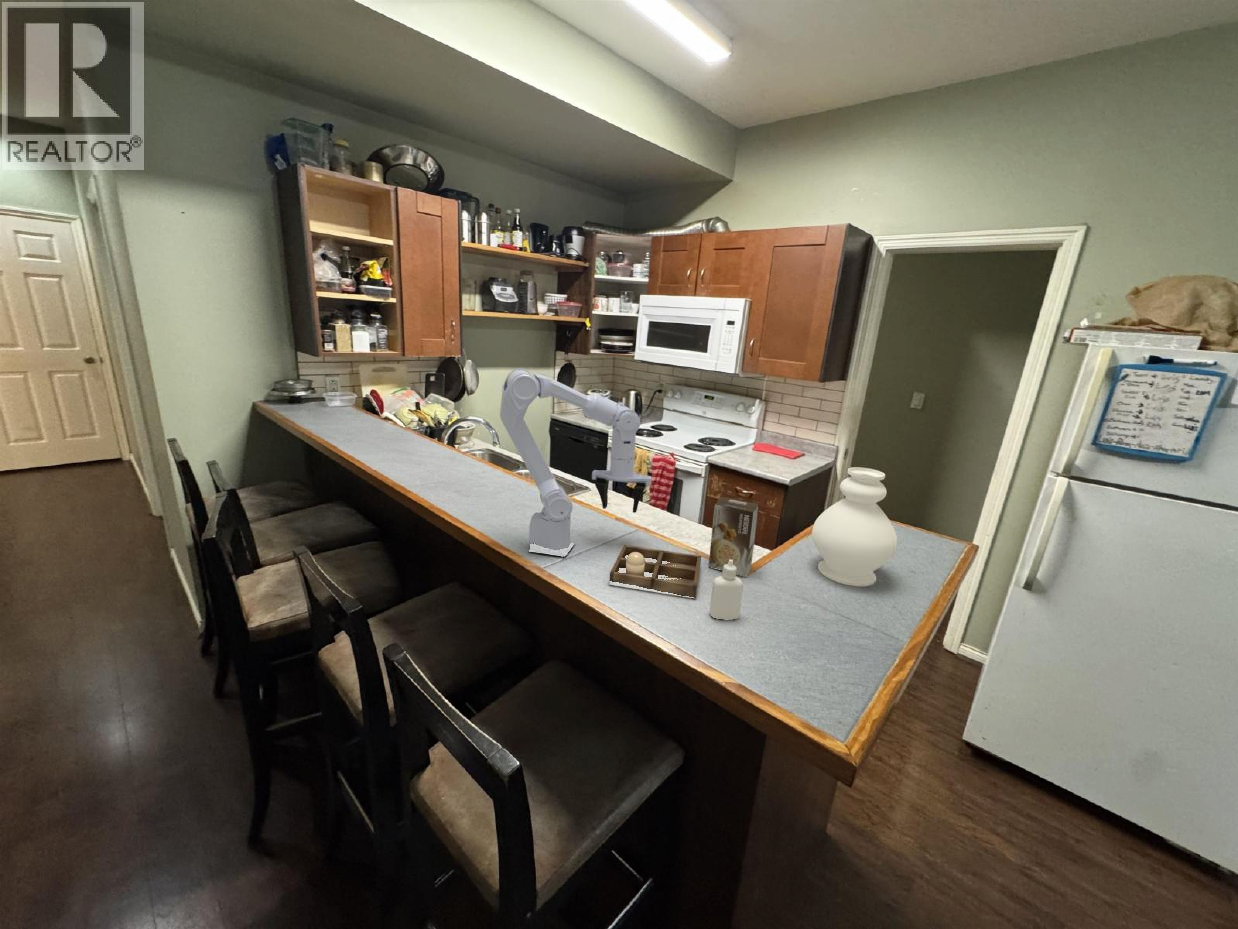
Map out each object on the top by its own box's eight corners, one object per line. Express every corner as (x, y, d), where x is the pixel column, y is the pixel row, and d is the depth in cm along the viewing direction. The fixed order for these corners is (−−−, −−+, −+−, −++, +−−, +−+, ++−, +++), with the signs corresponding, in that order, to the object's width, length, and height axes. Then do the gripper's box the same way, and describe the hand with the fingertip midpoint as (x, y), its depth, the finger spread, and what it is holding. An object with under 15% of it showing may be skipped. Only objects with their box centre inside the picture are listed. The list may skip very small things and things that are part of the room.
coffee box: (752, 567, 115) (761, 503, 111) (745, 578, 110) (754, 512, 106) (714, 557, 119) (722, 495, 115) (706, 567, 114) (713, 503, 110)
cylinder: (623, 580, 105) (625, 555, 103) (627, 572, 109) (628, 547, 107) (642, 583, 104) (643, 558, 102) (645, 574, 108) (646, 550, 106)
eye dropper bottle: (712, 606, 98) (719, 552, 95) (740, 614, 96) (748, 559, 93) (706, 617, 94) (713, 561, 91) (735, 626, 92) (743, 568, 89)
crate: (609, 585, 104) (609, 572, 103) (623, 556, 117) (624, 544, 117) (695, 599, 100) (697, 586, 99) (700, 567, 114) (701, 555, 113)
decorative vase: (857, 600, 103) (880, 489, 96) (790, 564, 118) (806, 465, 111) (904, 582, 112) (929, 478, 105) (837, 550, 127) (854, 458, 120)
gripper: (654, 455, 120) (651, 507, 124) (598, 449, 123) (596, 500, 127) (650, 463, 113) (646, 517, 117) (590, 456, 116) (588, 509, 120)
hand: (619, 509), depth 121 cm, fingers open, 7 cm apart
